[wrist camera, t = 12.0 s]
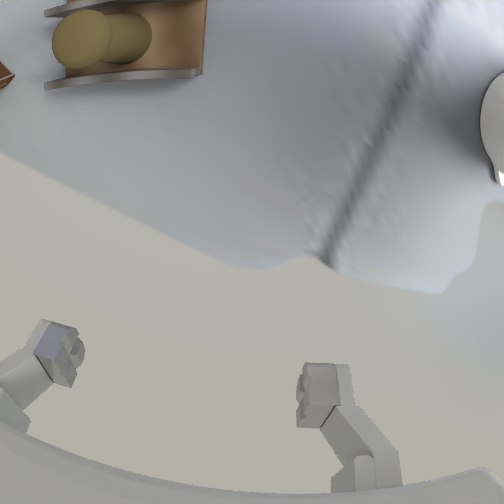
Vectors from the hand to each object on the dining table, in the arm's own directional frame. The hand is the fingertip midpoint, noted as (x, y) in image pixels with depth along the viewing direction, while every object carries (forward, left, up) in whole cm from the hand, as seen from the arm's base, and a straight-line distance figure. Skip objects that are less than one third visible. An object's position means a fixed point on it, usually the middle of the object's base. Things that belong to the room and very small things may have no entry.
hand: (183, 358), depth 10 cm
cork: (+13, -11, -27) cm, 32 cm away
